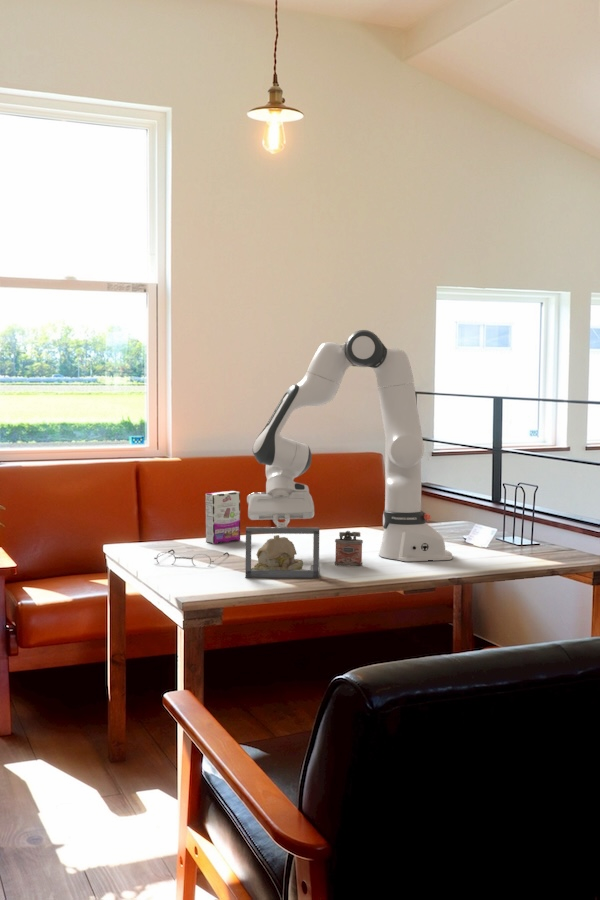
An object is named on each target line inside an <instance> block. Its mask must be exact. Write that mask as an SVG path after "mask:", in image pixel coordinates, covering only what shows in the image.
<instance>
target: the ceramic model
mask: <svg viewBox="0 0 600 900" xmlns="http://www.w3.org/2000/svg"><path fill="white" fill-rule="evenodd" d="M297 554H298V553H297V551H296V547H295V544H294V543H293V541H291V540H289V539H288V537H285V536H282V537H281V536H280V534H278V535H273V538H269V539H267V540H266V541H265V542H264V544H263V545H262V546H261V547H259V549H258V550H257V552H256V558H257V562H258V563H256V564H255V565H254V566H253V567H251V570H303V565H304V560H303V559H299V558H295V556H296V555H297Z"/></svg>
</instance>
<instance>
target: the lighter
mask: <svg viewBox="0 0 600 900" xmlns="http://www.w3.org/2000/svg"><path fill="white" fill-rule="evenodd" d="M338 535H339V538H336V539H334V542H335V560H334V565H335V566H340V567H363V542H364V541H363V540H362V539H357V537H359V538H360V537H361V532H360V531H352V532H351V531H350V530H346V531H340V532H339V534H338Z"/></svg>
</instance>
